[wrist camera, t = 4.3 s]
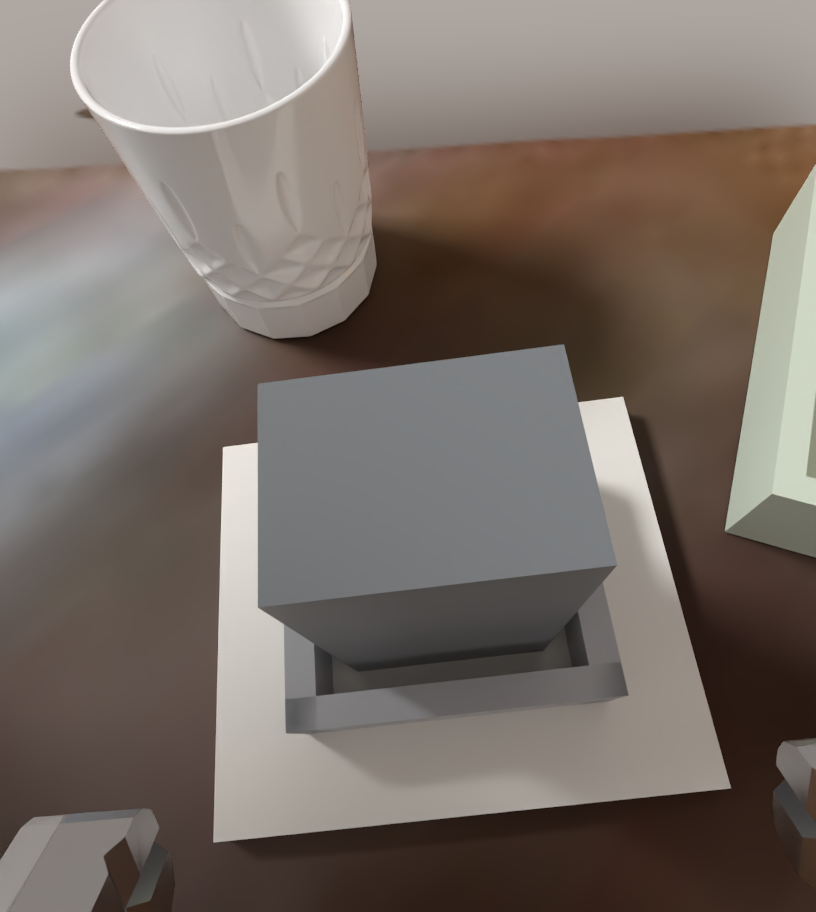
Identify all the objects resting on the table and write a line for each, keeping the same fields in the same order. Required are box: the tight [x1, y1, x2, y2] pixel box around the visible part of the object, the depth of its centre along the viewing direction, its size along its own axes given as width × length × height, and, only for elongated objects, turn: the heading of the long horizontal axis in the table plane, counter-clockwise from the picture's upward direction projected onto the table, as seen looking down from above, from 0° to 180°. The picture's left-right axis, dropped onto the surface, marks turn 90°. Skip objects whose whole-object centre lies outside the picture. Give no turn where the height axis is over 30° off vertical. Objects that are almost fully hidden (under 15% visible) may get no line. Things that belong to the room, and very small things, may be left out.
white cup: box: [70, 0, 377, 339], centre depth 22 cm, size 8×8×10 cm
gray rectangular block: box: [258, 344, 617, 672], centre depth 15 cm, size 6×4×10 cm
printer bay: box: [213, 397, 731, 843], centre depth 19 cm, size 14×12×4 cm
